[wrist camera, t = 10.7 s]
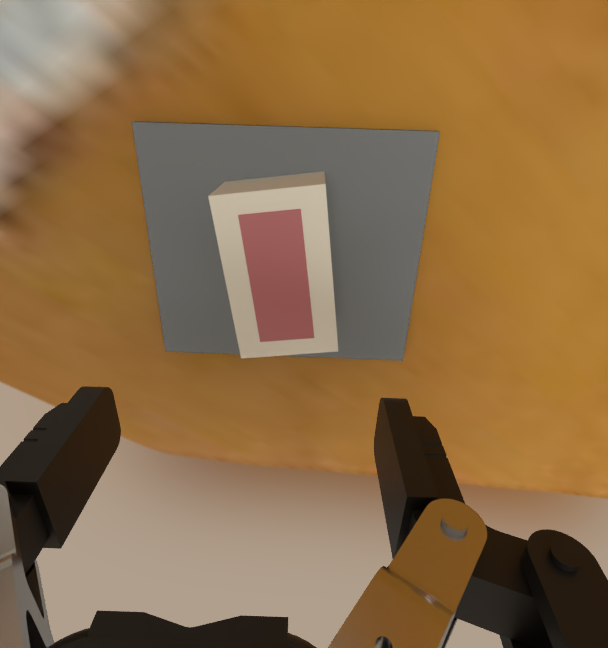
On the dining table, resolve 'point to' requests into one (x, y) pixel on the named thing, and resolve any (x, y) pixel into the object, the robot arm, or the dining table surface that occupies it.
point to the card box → (277, 263)
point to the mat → (343, 216)
